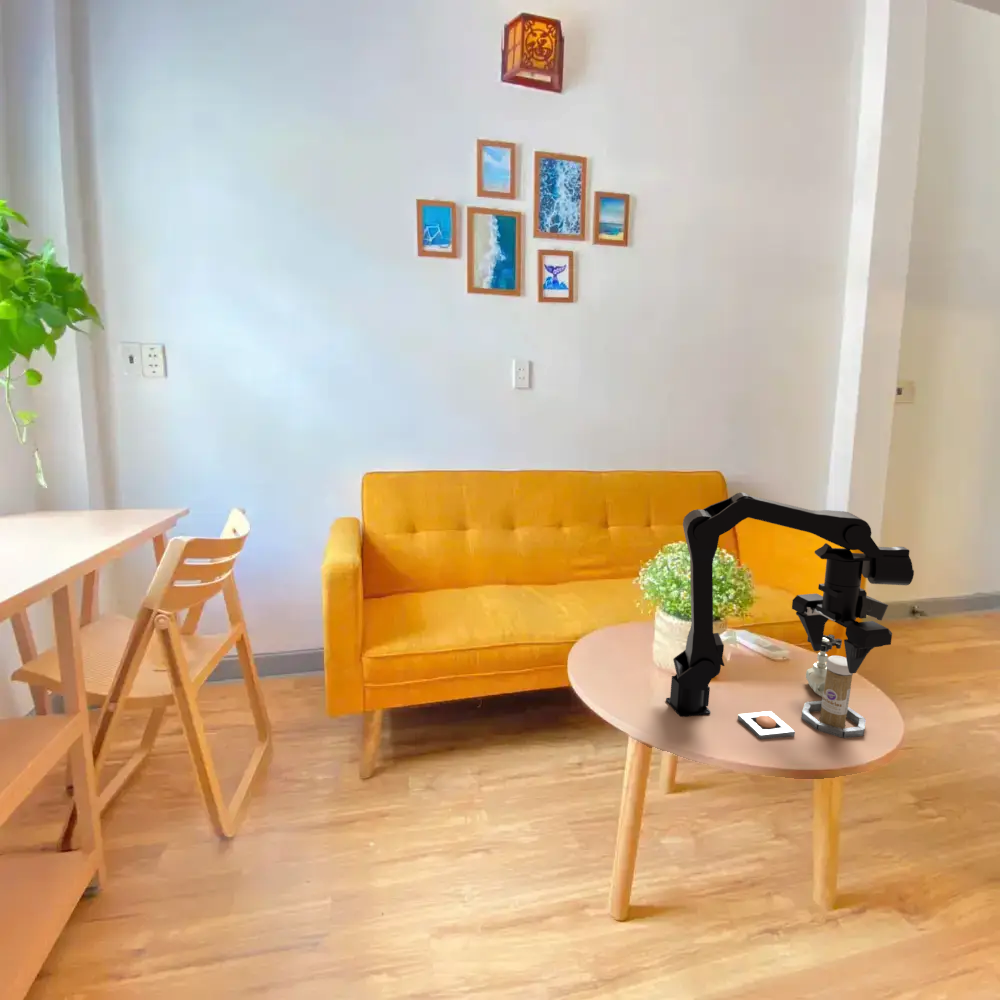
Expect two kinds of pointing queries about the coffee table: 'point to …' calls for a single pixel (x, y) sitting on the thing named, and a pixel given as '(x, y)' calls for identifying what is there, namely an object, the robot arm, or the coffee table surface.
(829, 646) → the valve
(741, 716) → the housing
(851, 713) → the socket ring
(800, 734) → the coffee table surface
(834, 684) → the sprinkles bottle
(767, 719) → the plunger
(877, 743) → the coffee table surface
